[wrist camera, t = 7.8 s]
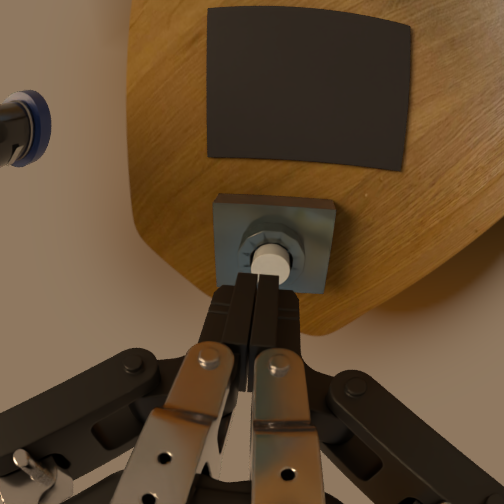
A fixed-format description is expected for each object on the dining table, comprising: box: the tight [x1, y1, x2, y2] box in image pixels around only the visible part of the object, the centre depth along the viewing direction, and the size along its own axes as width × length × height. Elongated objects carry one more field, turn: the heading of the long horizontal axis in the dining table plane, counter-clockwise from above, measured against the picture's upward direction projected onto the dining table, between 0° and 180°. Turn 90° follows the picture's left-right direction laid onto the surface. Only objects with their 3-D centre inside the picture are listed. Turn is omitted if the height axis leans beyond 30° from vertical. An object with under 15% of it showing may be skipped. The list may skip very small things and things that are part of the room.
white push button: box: [251, 243, 290, 285], centre depth 29 cm, size 4×4×2 cm
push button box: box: [213, 193, 336, 294], centre depth 32 cm, size 12×10×5 cm
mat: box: [207, 6, 410, 171], centre depth 25 cm, size 20×16×1 cm
